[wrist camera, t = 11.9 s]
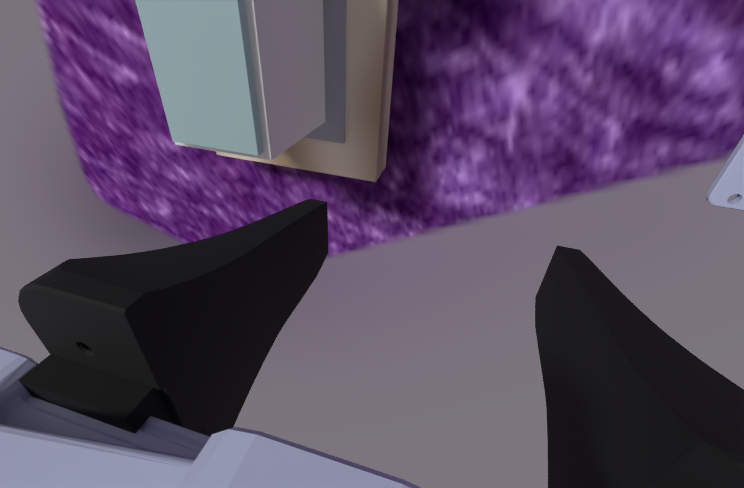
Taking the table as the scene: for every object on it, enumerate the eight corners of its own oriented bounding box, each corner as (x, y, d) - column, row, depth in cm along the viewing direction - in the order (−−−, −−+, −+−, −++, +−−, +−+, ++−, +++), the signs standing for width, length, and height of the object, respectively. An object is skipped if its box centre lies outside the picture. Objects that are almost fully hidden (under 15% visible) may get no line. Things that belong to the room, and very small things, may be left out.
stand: (412, -179, 14) (397, -208, 12) (385, 167, 22) (374, 184, 20) (186, -172, 16) (141, -196, 14) (237, 142, 24) (213, 156, 22)
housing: (325, 121, 19) (266, 164, 14) (248, 110, 20) (168, 147, 15) (321, -87, 14) (230, -130, 9) (221, -89, 15) (92, -129, 10)
